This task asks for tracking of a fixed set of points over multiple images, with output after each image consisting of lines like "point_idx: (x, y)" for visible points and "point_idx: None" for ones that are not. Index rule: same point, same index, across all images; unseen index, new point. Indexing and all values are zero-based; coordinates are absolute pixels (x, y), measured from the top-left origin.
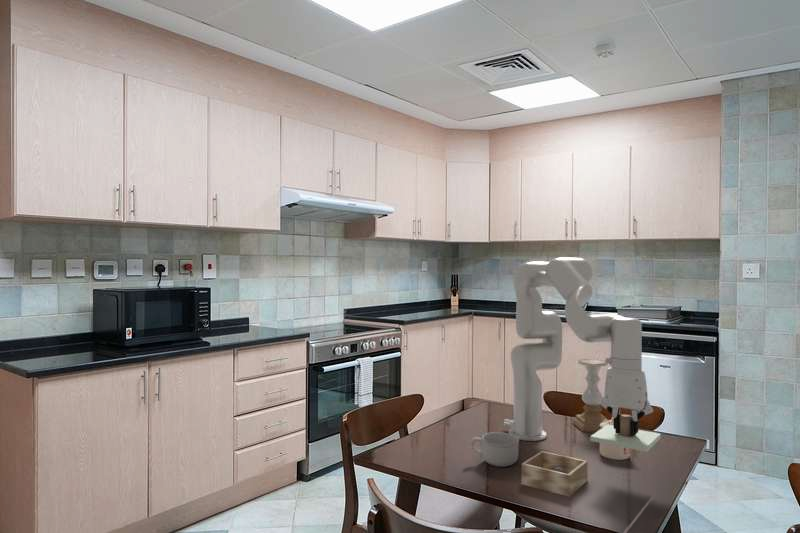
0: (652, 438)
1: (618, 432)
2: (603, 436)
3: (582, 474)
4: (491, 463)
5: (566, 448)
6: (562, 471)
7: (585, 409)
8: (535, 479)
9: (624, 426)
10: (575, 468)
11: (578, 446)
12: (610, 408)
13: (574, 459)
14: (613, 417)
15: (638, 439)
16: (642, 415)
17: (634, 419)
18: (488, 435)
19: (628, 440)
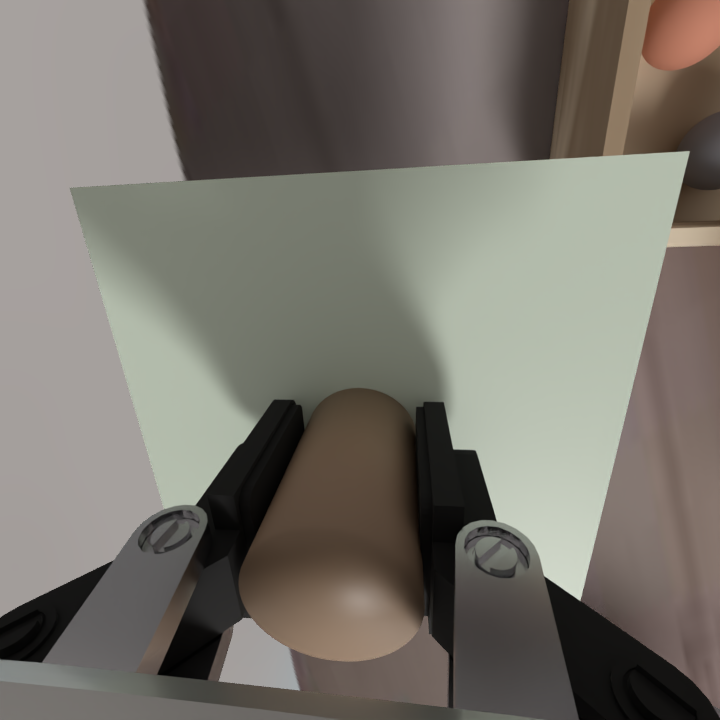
0: (169, 462)
1: (416, 414)
2: (535, 256)
3: (577, 152)
4: None
5: (712, 574)
6: (708, 134)
7: None
8: None
9: (340, 440)
10: (643, 20)
11: (663, 612)
12: (630, 712)
13: (678, 228)
14: (501, 526)
15: (229, 373)
16: (29, 609)
17: (181, 525)
18: None
19: (281, 287)
